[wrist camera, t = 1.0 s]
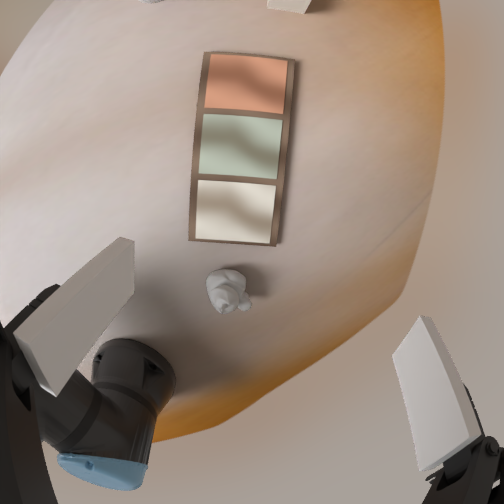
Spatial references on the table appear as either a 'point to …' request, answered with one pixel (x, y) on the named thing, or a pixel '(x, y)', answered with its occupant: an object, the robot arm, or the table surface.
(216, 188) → the game board
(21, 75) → the table surface
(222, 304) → the white lumpy piece
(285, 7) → the die
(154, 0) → the coffee cup
